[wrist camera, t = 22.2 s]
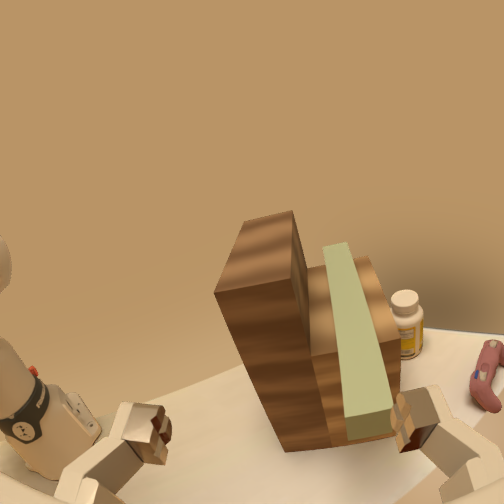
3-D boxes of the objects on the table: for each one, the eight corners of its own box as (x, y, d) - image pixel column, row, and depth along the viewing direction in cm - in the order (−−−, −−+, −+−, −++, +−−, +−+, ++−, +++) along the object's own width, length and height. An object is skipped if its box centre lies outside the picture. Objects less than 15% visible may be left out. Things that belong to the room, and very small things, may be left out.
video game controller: (491, 366, 34) (480, 331, 34) (517, 362, 30) (508, 325, 30) (471, 417, 29) (460, 383, 29) (500, 416, 25) (492, 380, 25)
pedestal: (395, 435, 30) (397, 255, 21) (284, 452, 34) (213, 292, 24) (377, 351, 45) (357, 195, 35) (290, 367, 48) (244, 221, 39)
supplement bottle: (407, 332, 46) (406, 282, 42) (428, 348, 41) (431, 296, 37) (382, 347, 45) (378, 298, 41) (402, 366, 40) (403, 315, 36)
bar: (392, 432, 16) (394, 407, 15) (347, 440, 17) (344, 417, 16) (350, 263, 38) (346, 241, 37) (327, 268, 39) (322, 246, 38)
